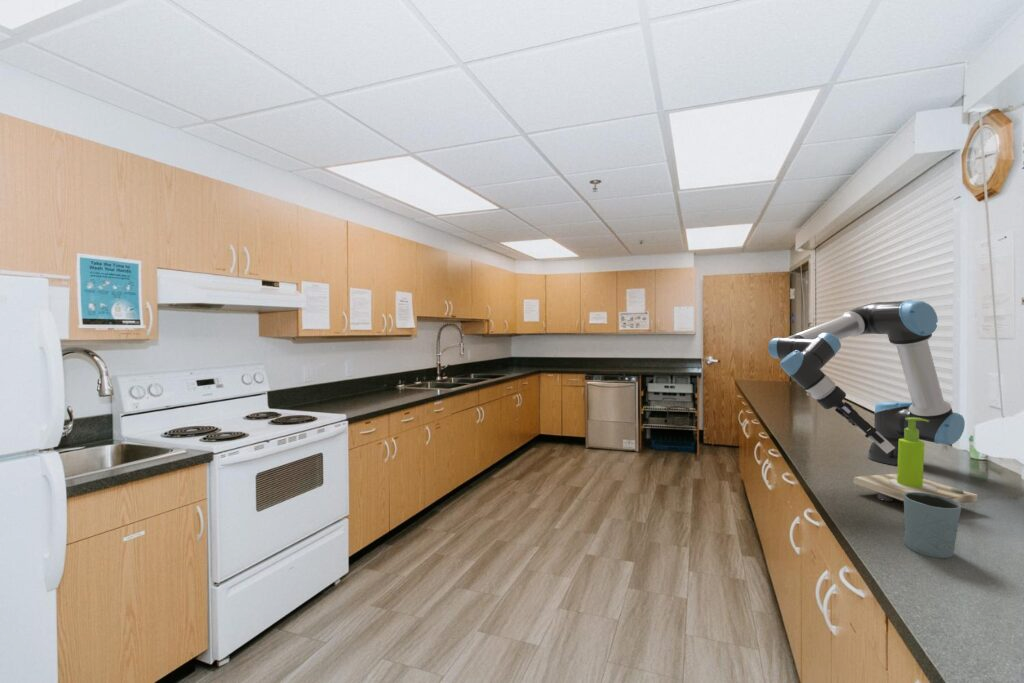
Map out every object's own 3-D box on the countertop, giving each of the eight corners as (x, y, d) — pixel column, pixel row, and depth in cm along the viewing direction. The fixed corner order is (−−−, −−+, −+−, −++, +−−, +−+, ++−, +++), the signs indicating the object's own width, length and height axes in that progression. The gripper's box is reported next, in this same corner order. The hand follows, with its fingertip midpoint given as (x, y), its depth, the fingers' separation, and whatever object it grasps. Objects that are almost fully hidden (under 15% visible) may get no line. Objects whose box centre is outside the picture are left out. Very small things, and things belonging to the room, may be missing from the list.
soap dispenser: (931, 488, 138) (934, 420, 137) (904, 486, 139) (906, 419, 138) (918, 481, 143) (921, 416, 143) (892, 480, 145) (895, 415, 144)
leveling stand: (904, 488, 153) (905, 471, 153) (976, 512, 133) (977, 492, 133) (853, 492, 149) (853, 475, 148) (920, 518, 129) (920, 497, 129)
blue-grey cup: (901, 536, 118) (903, 488, 118) (957, 548, 112) (959, 498, 111) (902, 551, 110) (903, 500, 110) (961, 565, 104) (963, 511, 103)
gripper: (808, 395, 161) (859, 443, 156) (824, 406, 138) (885, 463, 133) (827, 380, 159) (880, 428, 153) (847, 389, 136) (910, 447, 130)
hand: (882, 445), depth 143 cm, fingers open, 13 cm apart
